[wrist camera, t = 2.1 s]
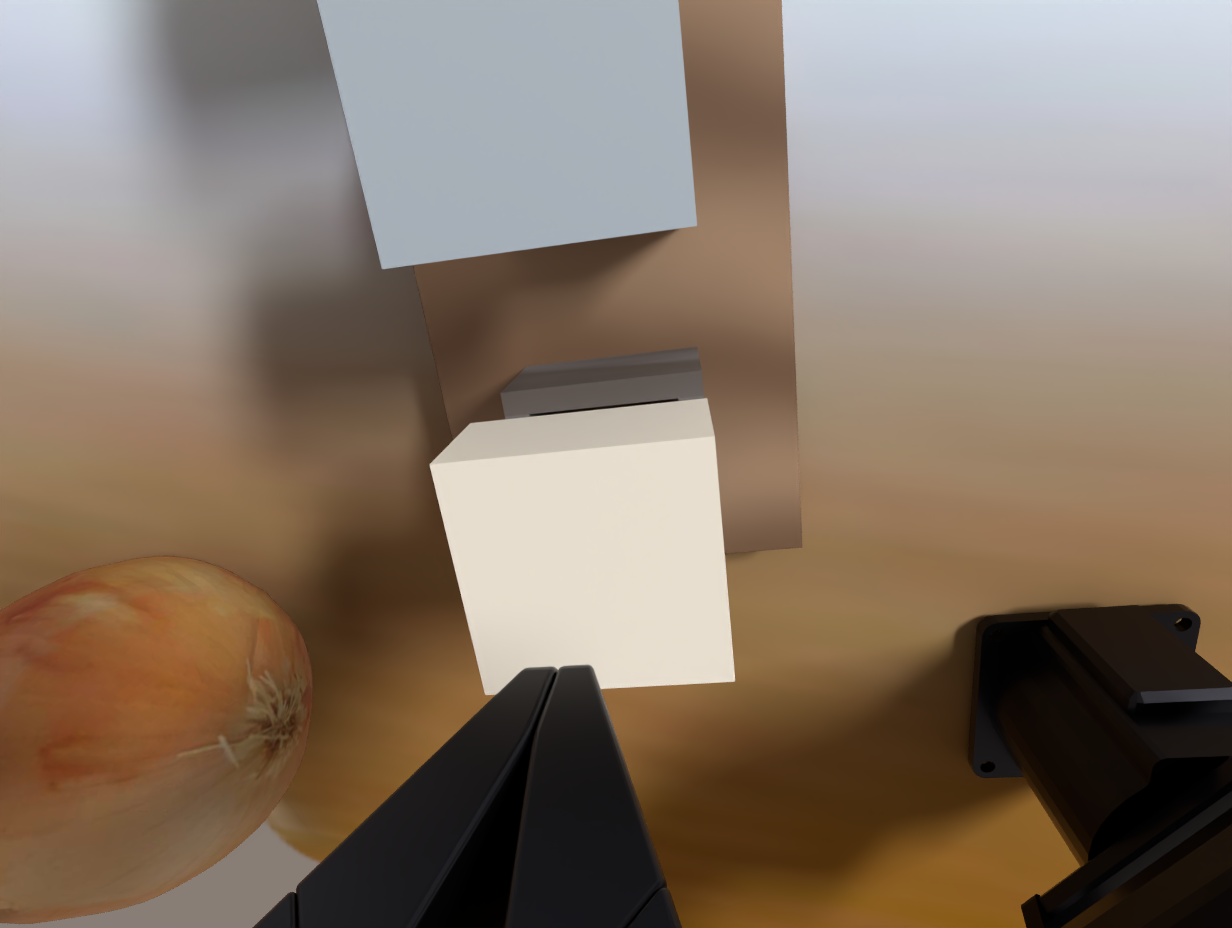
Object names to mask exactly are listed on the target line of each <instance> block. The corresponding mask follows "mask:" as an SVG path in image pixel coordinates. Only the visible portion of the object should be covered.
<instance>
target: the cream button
mask: <svg viewBox="0 0 1232 928" xmlns="http://www.w3.org/2000/svg"><path fill="white" fill-rule="evenodd" d="M429 465H430V469H431V473H432V477H433V481H434V485H435V489H436V494H437V498H438V502H439V506H440V510H441V514H442V518H443V522H444V527H445V531H446V535H447V539H448V543H449V547H450V551H451V555H452V560H453V564H454V568H455V572H456V576H457V580H458V584H459V588H460V592H461V597H462V601H463V605H464V609H465V613H466V617H467V621H468V625H469V630H470V634H471V638H472V642H473V646H474V650H475V654H476V658H477V663H478V667H479V671H480V675H481V679H482V683H483V687H484V691H485V695H495V694H497V693H498V692H499V691H500V690H501V689H502V688H504V687H505V686H506V685H507V684H508V683H509V682H510V681H511V680H512V679H513V678H514V677H515V676H516V675H517V674H518V673H519V672H520V671H522V670H523V669H525V668H529V667H548V666H553V667H555V668H557V669H559V668H560V667H562V666H568V665H591V666H592V667H593V668H594V671H595V674H596V677H597V680H598V683H599V686H600V689H606V688H625V687H643V686H662V685H680V684H699V683H717V682H735V673H734V661H733V649H732V637H731V625H730V613H729V601H728V589H727V577H726V565H725V553H724V541H723V529H722V517H721V505H720V493H719V481H718V469H717V457H716V445H715V435H714V430H713V425H712V420H711V415H710V410H709V405H708V400H707V398H704V399H694V400H685V401H676V402H666V403H657V404H647V405H638V406H628V407H619V408H609V409H600V410H591V411H581V412H572V413H562V414H553V415H543V416H534V417H524V418H515V419H506V420H496V421H487V422H477V423H470V424H469V425H468V426H467V427H466V428H465V429H464V430H463V431H462V432H461V433H460V434H459V435H458V436H457V437H456V438H455V439H454V440H453V441H452V442H451V443H450V444H449V445H448V446H447V447H446V448H445V449H444V450H443V451H442V452H441V453H440V454H439V455H438V456H437V457H436V458H435V459H434V460H433V461H432V462H431V463H430V464H429Z"/></svg>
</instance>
